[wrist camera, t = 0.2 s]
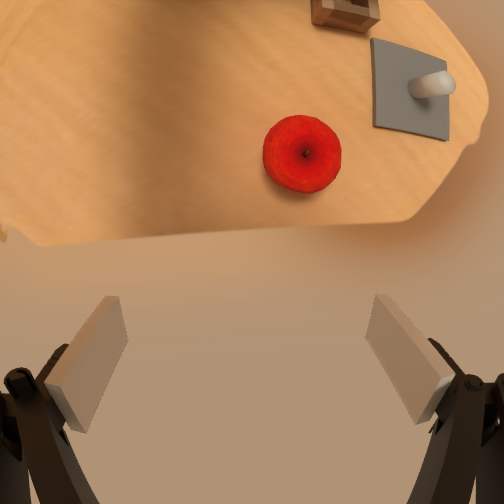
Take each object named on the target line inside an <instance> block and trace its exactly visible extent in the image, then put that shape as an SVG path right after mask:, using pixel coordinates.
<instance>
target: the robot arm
mask: <svg viewBox="0 0 504 504" xmlns="http://www.w3.org/2000/svg"><path fill="white" fill-rule="evenodd" d="M365 338H366V340H367V341H368V343H369V344H370V346H371V348H372V350H373V351H374V353H375V355H376V356H377V358H378V360H379V361H380V363H381V365H382V367H383V368H384V370H385V372H386V373H387V375H388V377H389V379H390V380H391V382H392V384H393V386H394V387H395V389H396V391H397V393H398V394H399V396H400V398H401V400H402V402H403V403H404V405H405V407H406V409H407V410H408V413H409V414H410V416H411V418H412V420H413V422H414V424H415V425H417V424H420V423H423V422H426V421H429V420H430V419H431V417H432V415H433V414H434V412H436V413H437V415H438V418H437V420H436V421H435V423H434V424H433V426H432V428H431V429H430V431H429V433H431V432H432V430H433V432H432V436H431V439H430V443H429V446H428V449H427V453H426V455H425V458H424V461H423V464H422V467H421V470H420V472H419V475H418V478H417V480H416V483H415V485H414V488H413V490H412V493H411V495H410V498H409V500H408V502H407V504H469V501H470V497H471V493H472V489H473V485H474V480H475V476H476V504H504V373H502V374H500V375H499V376H498V377H497V379H496V381H495V383H484V382H483V381H482V380H481V379H480V378H479V377H477V376H475V375H471V374H467V375H465V374H464V373H463V372H462V370H461V369H460V368H459V366H458V365H457V364H456V363H455V361H454V360H453V359H452V358H451V357H449V354H448V353H447V352H445V350H444V348H443V347H442V346H441V345H440V344H439V343H438V342H436V341H435V340H433V339H432V338H428V339H427V338H426V337H425V336H424V335H423V333H422V332H421V331H420V330H419V329H418V328H417V326H416V325H415V324H414V323H413V322H412V321H411V320H410V318H409V317H408V316H407V315H406V314H405V313H404V311H403V310H402V309H401V308H400V307H399V306H398V305H397V304H396V303H395V301H394V300H393V299H392V298H391V297H390V296H389V295H388V294H377V295H375V299H374V303H373V308H372V312H371V316H370V321H369V325H368V329H367V333H366V337H365ZM127 342H128V337H127V332H126V328H125V324H124V320H123V315H122V310H121V306H120V301H119V297H118V296H105V297H104V299H103V300H102V301H101V303H100V304H99V305H98V306H97V308H96V309H95V310H94V312H93V313H92V314H91V316H90V317H89V318H88V319H87V321H86V322H85V324H84V325H83V326H82V328H81V329H80V331H79V332H78V333H77V335H76V336H75V337H74V339H73V340H72V342H71V343H70V344H63V345H62V346H60V347H59V348H58V349H56V350H55V352H54V353H53V355H52V356H51V358H50V359H49V360H48V362H47V364H46V365H45V366H44V367H43V369H42V370H41V372H40V373H39V375H38V376H37V377H36V379H35V380H34V378H33V376H32V374H31V372H30V370H28V369H27V368H22V367H21V368H16V369H14V370H11V371H10V372H9V373H8V374H7V375H6V377H5V378H4V384H5V386H6V388H7V390H8V391H9V393H10V394H4V393H3V394H2V393H1V391H0V504H31V498H30V488H29V475H28V469H29V473H30V476H31V479H32V482H33V485H34V488H35V491H36V494H37V496H38V499H39V502H40V504H99V502H98V500H97V498H96V497H95V495H94V493H93V491H92V490H91V487H90V486H89V484H88V482H87V480H86V478H85V476H84V474H83V472H82V469H81V468H80V465H79V463H78V461H77V459H76V457H75V454H74V452H73V449H72V447H71V445H70V442H69V440H68V437H67V435H66V432H65V431H64V429H63V425H64V423H65V421H66V422H67V424H68V426H69V427H70V429H71V430H74V431H78V432H82V433H86V434H87V431H88V429H89V427H90V424H91V422H92V419H93V417H94V415H95V412H96V409H97V407H98V405H99V403H100V400H101V398H102V396H103V394H104V391H105V389H106V387H107V385H108V383H109V380H110V378H111V376H112V374H113V372H114V369H115V367H116V365H117V363H118V361H119V359H120V357H121V355H122V352H123V350H124V348H125V346H126V344H127ZM498 419H500V423H499V424H498Z"/></svg>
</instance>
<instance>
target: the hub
mask: <svg viewBox="0 0 504 504" xmlns="http://www.w3.org/2000/svg"><path fill="white" fill-rule="evenodd" d="M310 1H311V21H312V24H317V25H324V26H330V27H336V28H342V29H347V30H352V31H356V32H361V33H364V32H366V31H367V30H368V29H369V28H371V27H372V26H373V25H375V24H376V23H377V22H378V21H380V12H379V5H378V0H351V1H352V4H348V3H344V2H339V1H333V0H310Z"/></svg>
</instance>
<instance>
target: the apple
mask: <svg viewBox="0 0 504 504" xmlns="http://www.w3.org/2000/svg"><path fill="white" fill-rule="evenodd" d="M341 151H342V150H341V146H340V142H339V139H338V137H337V135H336V134H335V133H334V131H333V130H332V129H331V128H330V127H329V126H328V125H327V124H325V123H324V122H322V121H320V120H319V119H317V118H315V117H310V116H305V115H294V116H290V117H286V118H284V119H282V120H280V121H279V122H278V123H277V124H275V125H274V126H273V127H272V128H271V129H270V130H269V132H268V134H267V135H266V137H265V140H264V145H263V162H264V167H265V169H266V171H267V173H268V175H269V176H270V177H271V178H272V179H273V180H274V181H276V182H277V183H278V184H279V185H281V186H283V187H285V188H287V189H289V190H292V191H296V192H300V193H308V194H311V193H314V192H317V191H320V190H322V189H324V188H325V187H326V186H328V185H329V184H330V183H331V182H332V181H333V180H334V179H335V178H336V176H337V174H338V172H339V170H340V168H341Z"/></svg>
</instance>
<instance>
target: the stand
mask: <svg viewBox="0 0 504 504" xmlns="http://www.w3.org/2000/svg"><path fill="white" fill-rule="evenodd" d="M370 45H371V61H372V87H373V126H377V127H383V128H389V129H395V130H400V131H405V132H410V133H415V134H420V135H424V136H429V137H433V138H437V139H441V140H447V141H449V94H452V93H453V92H454V91H455V88H456V85H455V81H454V78H453V77H452V75H451V74H450V73H448V72H447V64H446V61H444V60H442V59H439V58H436V57H434V56H431V55H428V54H426V53H423V52H420V51H417V50H414V49H411V48H408V47H405V46H402V45H398V44H395V43H391V42H388V41H384V40H381V39H377V38H372V39H371V40H370Z"/></svg>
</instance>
